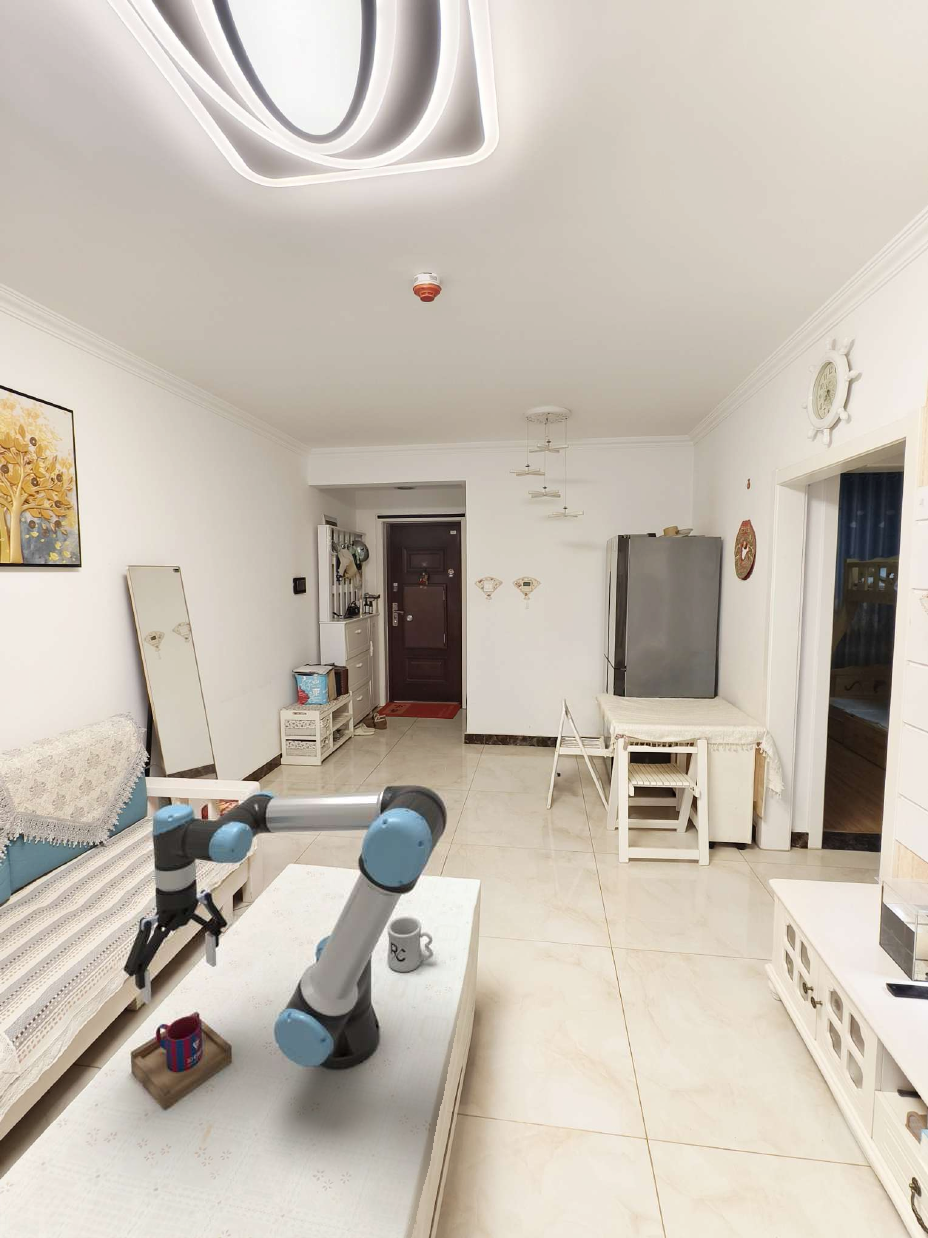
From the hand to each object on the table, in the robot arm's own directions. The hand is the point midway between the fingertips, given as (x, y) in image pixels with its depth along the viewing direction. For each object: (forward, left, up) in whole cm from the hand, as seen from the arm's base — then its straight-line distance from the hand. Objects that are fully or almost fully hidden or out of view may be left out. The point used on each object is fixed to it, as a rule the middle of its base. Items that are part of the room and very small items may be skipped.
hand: (180, 981), depth 120 cm
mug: (-16, -53, -19) cm, 58 cm away
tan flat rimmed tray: (0, 0, -19) cm, 19 cm away
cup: (0, +1, -16) cm, 16 cm away
